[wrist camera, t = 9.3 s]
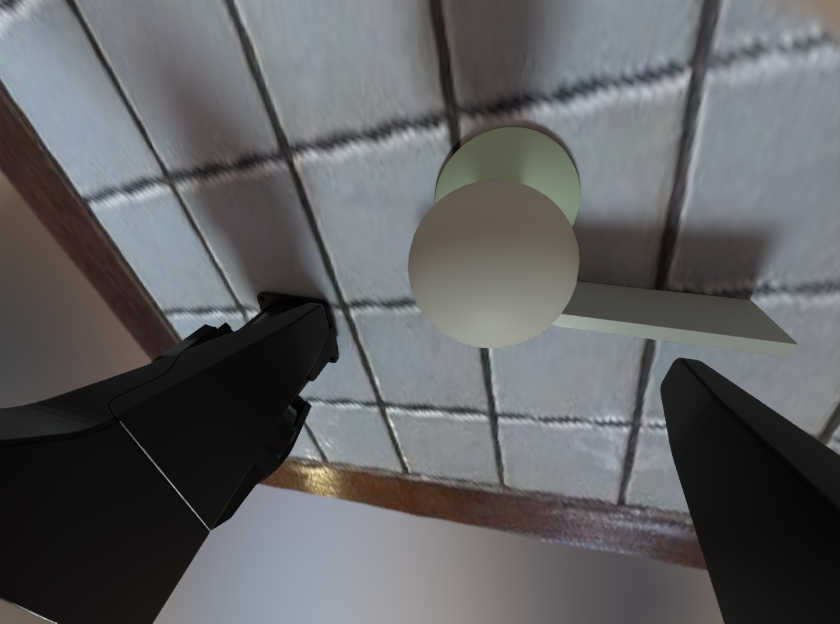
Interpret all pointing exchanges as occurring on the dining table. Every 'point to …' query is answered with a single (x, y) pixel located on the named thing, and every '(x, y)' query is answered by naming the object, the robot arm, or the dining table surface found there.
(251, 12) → the dining table surface
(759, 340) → the grey-green flat bar
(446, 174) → the pad
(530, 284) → the lightbulb
